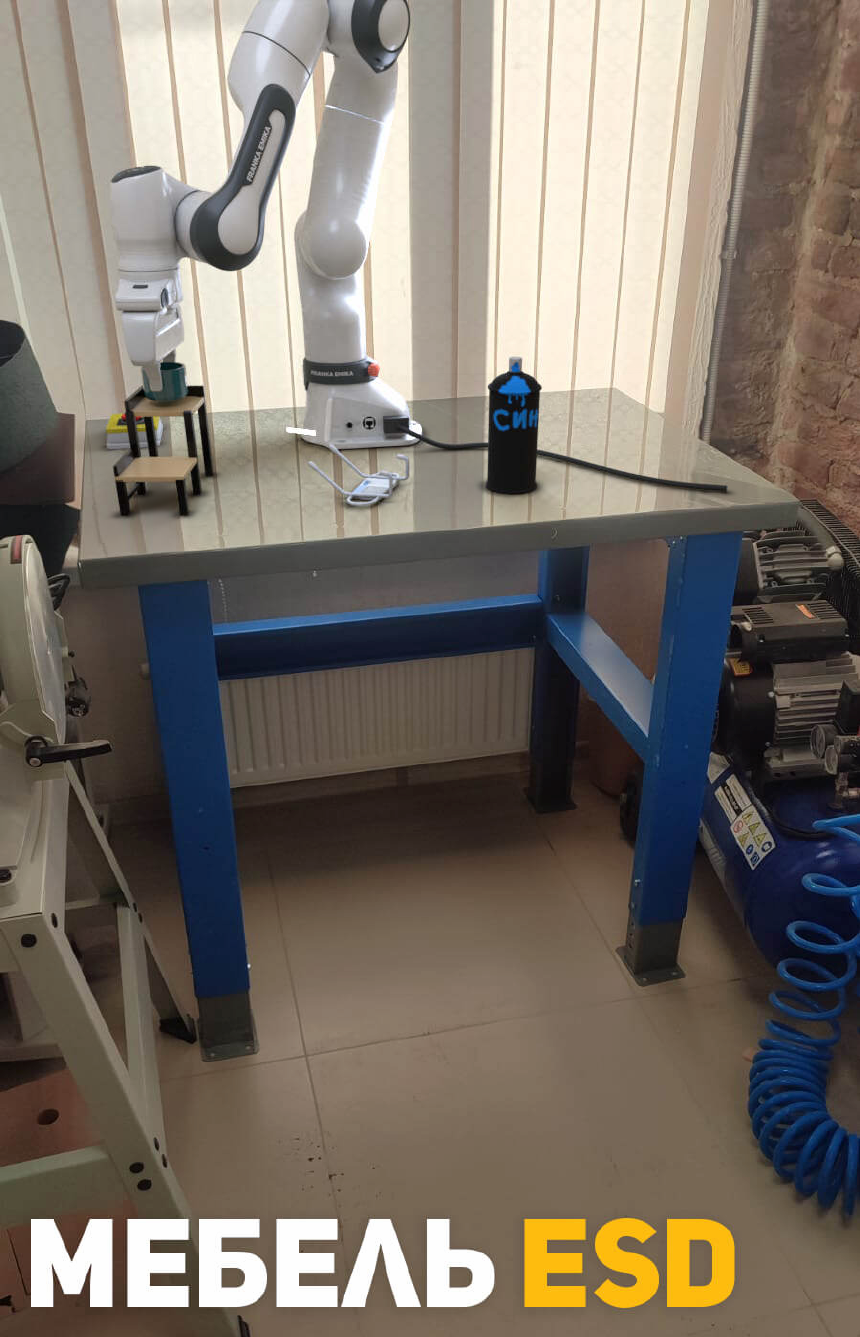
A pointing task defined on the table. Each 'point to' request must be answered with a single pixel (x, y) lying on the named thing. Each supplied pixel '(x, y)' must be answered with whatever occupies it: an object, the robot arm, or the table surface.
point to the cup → (168, 382)
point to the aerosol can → (513, 431)
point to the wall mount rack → (367, 482)
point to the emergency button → (119, 432)
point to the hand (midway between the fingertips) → (163, 384)
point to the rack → (154, 466)
